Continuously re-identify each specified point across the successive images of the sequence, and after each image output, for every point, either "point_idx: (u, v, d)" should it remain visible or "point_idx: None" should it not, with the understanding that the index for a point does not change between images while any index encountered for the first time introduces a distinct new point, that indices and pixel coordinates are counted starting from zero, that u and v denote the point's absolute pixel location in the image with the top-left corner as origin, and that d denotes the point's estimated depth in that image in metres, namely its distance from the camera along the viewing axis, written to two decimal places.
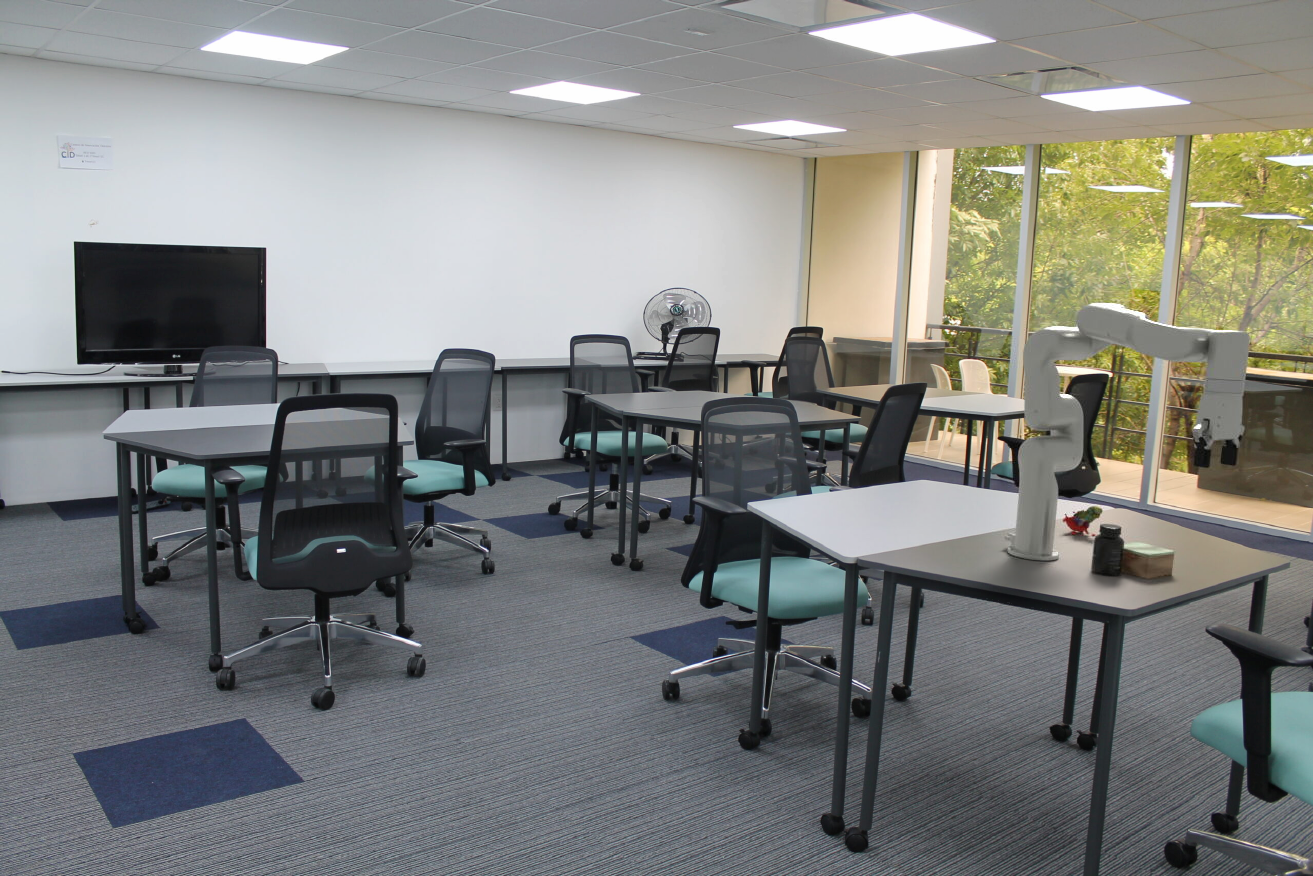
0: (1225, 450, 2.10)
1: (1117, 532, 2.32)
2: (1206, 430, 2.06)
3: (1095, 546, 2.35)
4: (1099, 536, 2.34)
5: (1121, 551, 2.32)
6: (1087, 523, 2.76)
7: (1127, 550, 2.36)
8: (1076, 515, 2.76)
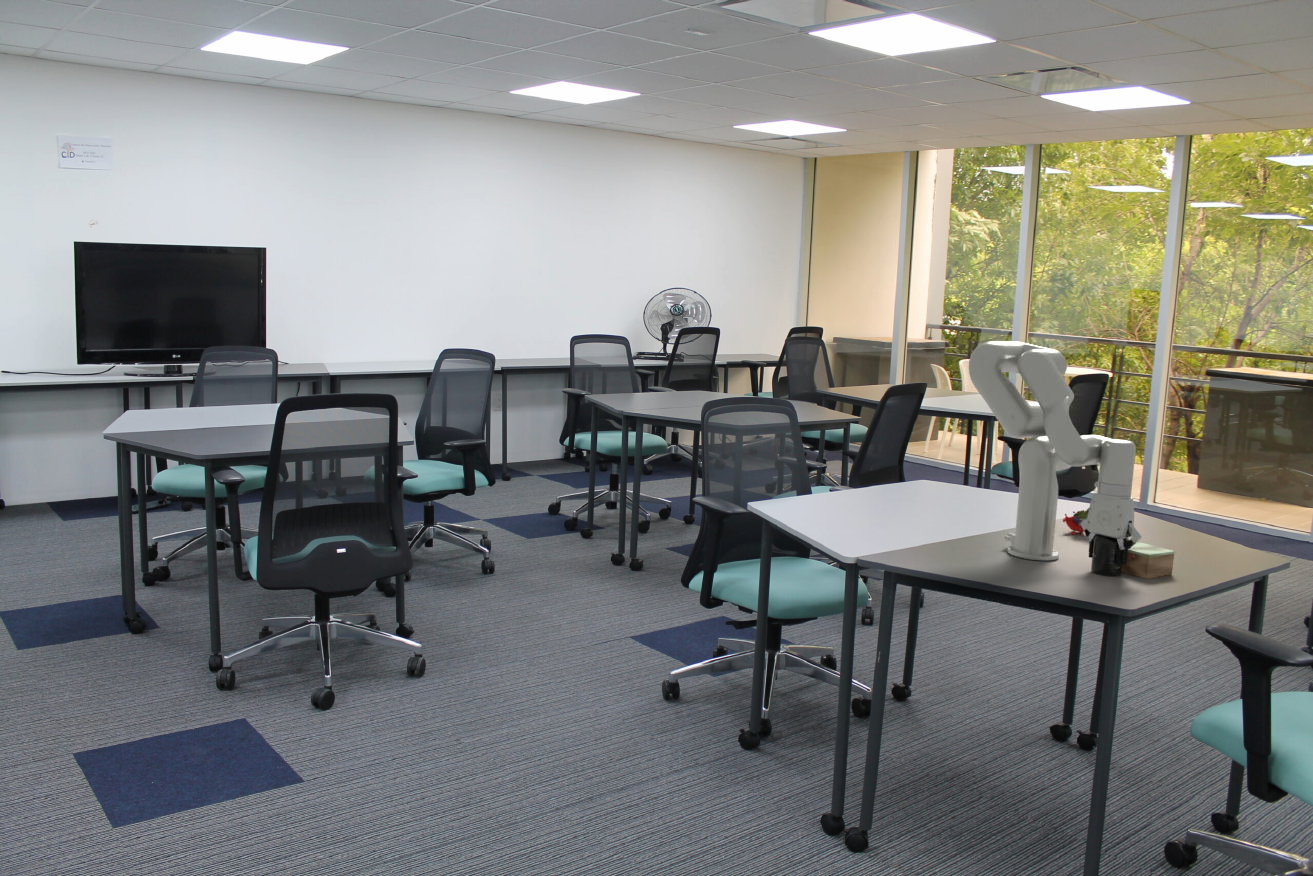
0: None
1: None
2: None
3: (1095, 546, 2.35)
4: (1099, 536, 2.34)
5: None
6: None
7: None
8: (1076, 515, 2.76)
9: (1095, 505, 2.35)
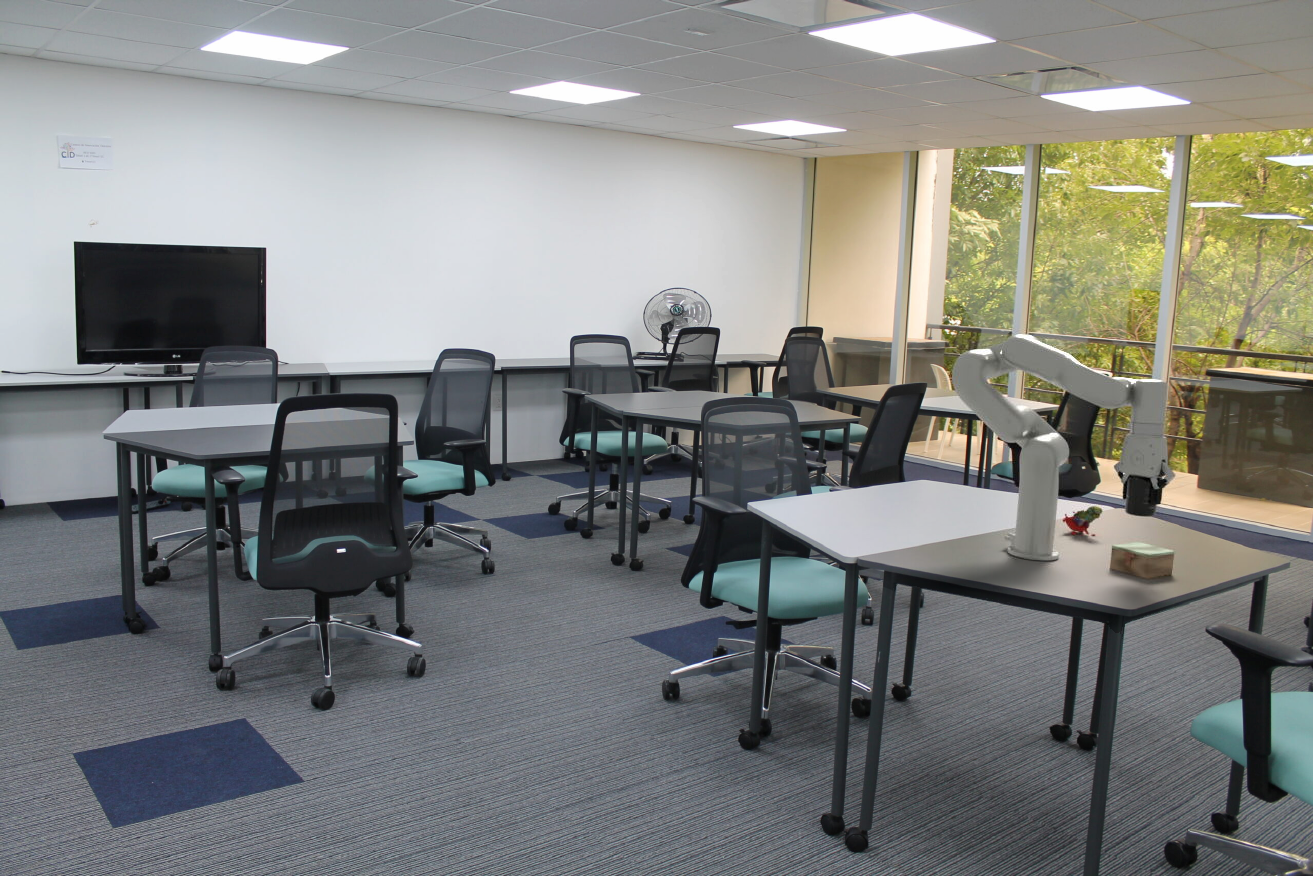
0: None
1: None
2: None
3: (1128, 487, 2.34)
4: (1132, 477, 2.34)
5: None
6: (1087, 523, 2.76)
7: (1127, 550, 2.36)
8: (1076, 515, 2.76)
9: (1128, 446, 2.34)
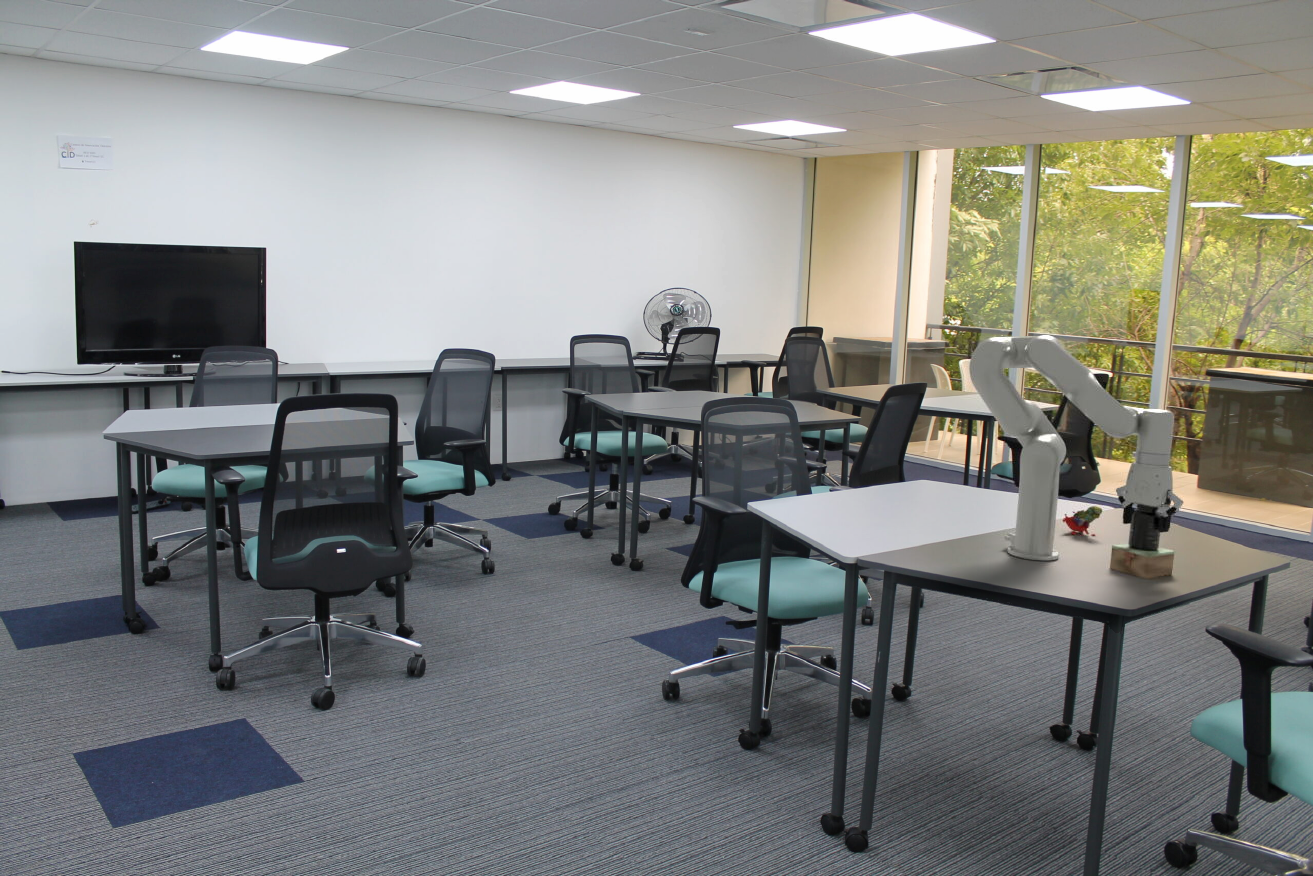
0: (1128, 512, 2.40)
1: (1155, 507, 2.34)
2: None
3: (1133, 521, 2.36)
4: (1137, 511, 2.36)
5: None
6: (1087, 523, 2.76)
7: (1127, 550, 2.36)
8: (1076, 515, 2.76)
9: (1133, 475, 2.36)
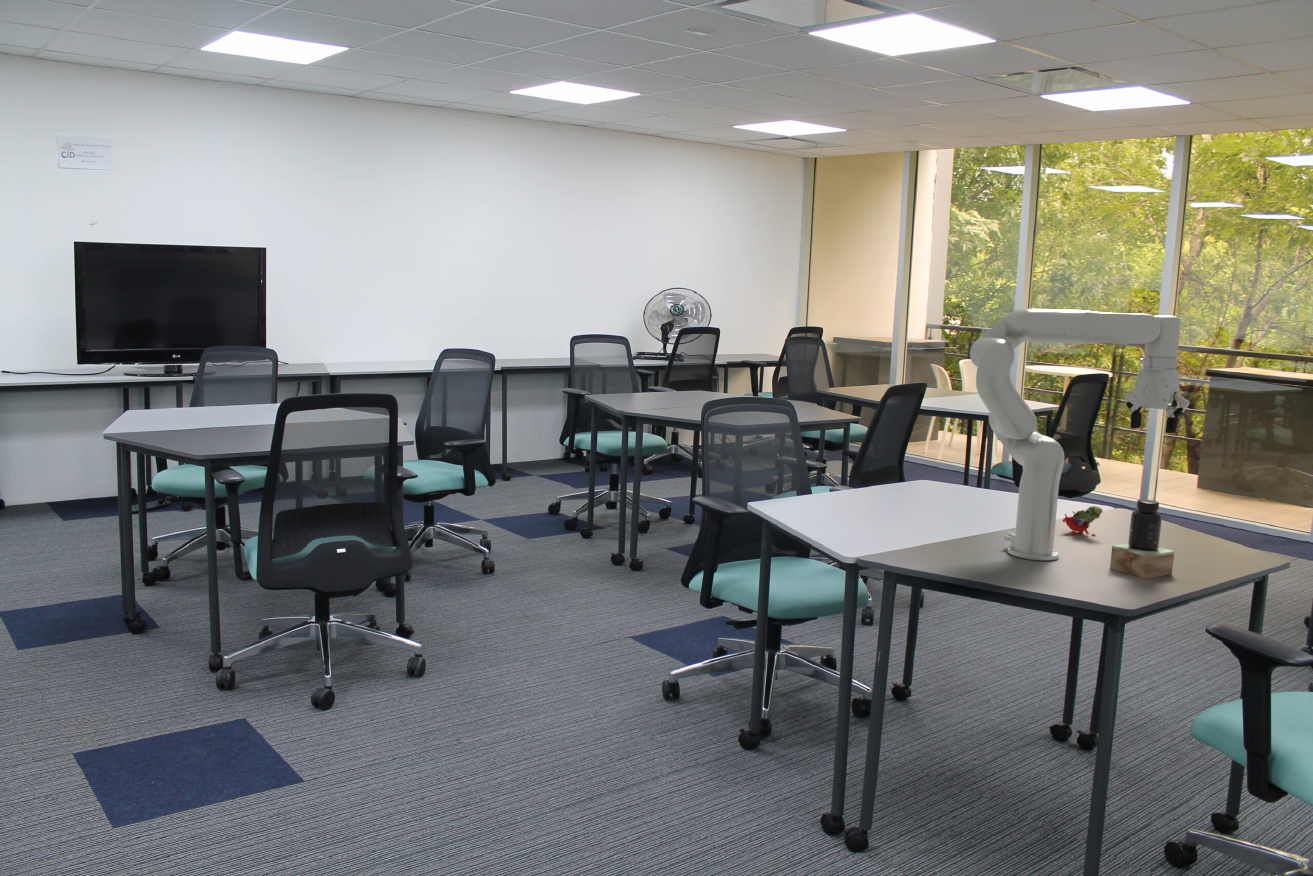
0: (1136, 416, 2.49)
1: (1155, 507, 2.34)
2: None
3: (1133, 521, 2.36)
4: (1137, 511, 2.36)
5: (1159, 526, 2.34)
6: (1087, 523, 2.76)
7: (1127, 550, 2.36)
8: (1076, 515, 2.76)
9: (1141, 379, 2.45)
